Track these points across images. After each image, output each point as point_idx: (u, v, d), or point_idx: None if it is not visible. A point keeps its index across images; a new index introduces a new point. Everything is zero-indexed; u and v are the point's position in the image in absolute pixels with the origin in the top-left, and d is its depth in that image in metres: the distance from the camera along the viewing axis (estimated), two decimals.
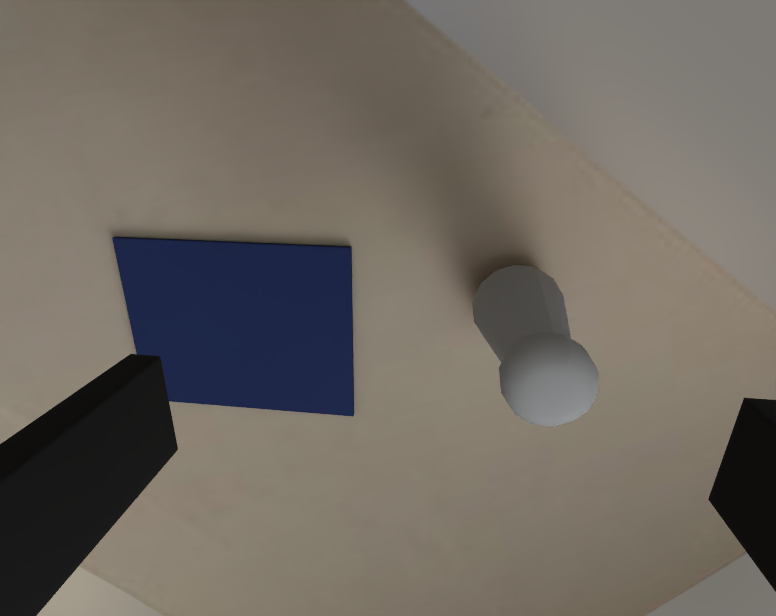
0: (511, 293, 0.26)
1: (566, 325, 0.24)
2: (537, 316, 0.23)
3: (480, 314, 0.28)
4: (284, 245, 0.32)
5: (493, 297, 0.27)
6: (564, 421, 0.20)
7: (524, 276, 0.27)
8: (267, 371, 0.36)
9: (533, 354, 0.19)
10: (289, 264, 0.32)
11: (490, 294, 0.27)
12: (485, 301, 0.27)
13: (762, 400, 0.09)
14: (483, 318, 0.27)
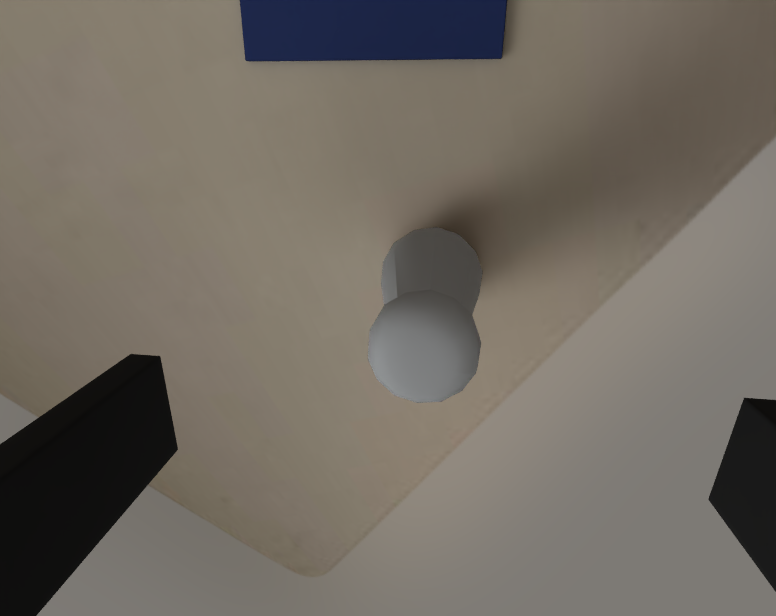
0: (471, 278, 0.22)
1: None
2: None
3: (436, 241, 0.23)
4: None
5: (461, 256, 0.23)
6: (381, 374, 0.17)
7: (478, 285, 0.24)
8: None
9: (470, 334, 0.16)
10: None
11: (460, 251, 0.23)
12: (452, 246, 0.23)
13: (762, 400, 0.09)
14: (436, 247, 0.22)
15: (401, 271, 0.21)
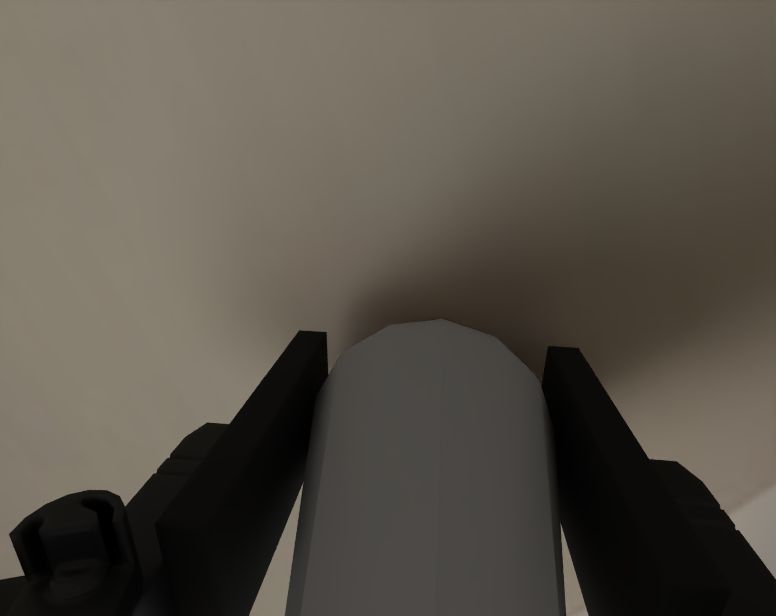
0: (551, 509, 0.07)
1: None
2: None
3: (444, 385, 0.08)
4: None
5: (516, 432, 0.08)
6: None
7: (553, 483, 0.09)
8: None
9: None
10: None
11: (513, 412, 0.08)
12: (490, 398, 0.08)
13: (561, 347, 0.11)
14: (446, 414, 0.07)
15: (331, 527, 0.06)
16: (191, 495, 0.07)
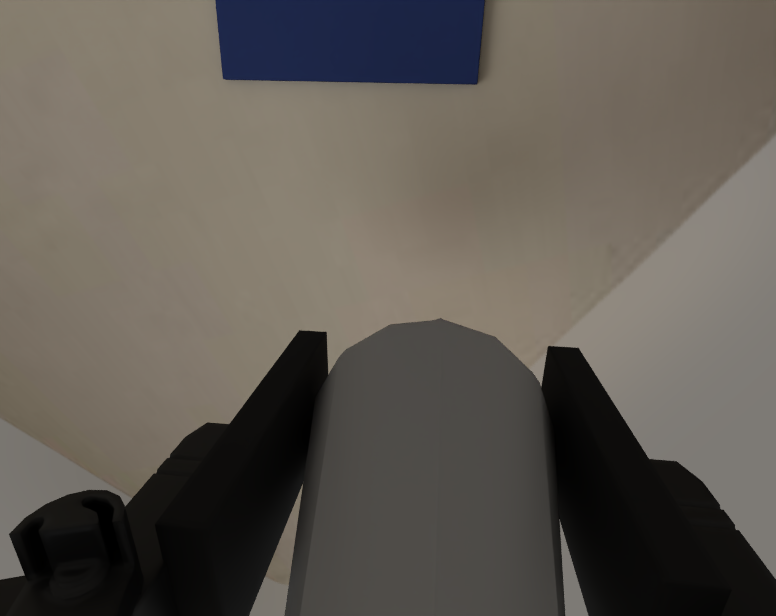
0: (551, 510, 0.07)
1: None
2: None
3: (444, 386, 0.08)
4: None
5: (516, 432, 0.08)
6: None
7: (552, 483, 0.09)
8: None
9: None
10: None
11: (512, 411, 0.08)
12: (490, 398, 0.08)
13: (561, 347, 0.11)
14: (445, 414, 0.07)
15: (330, 527, 0.06)
16: (191, 495, 0.07)
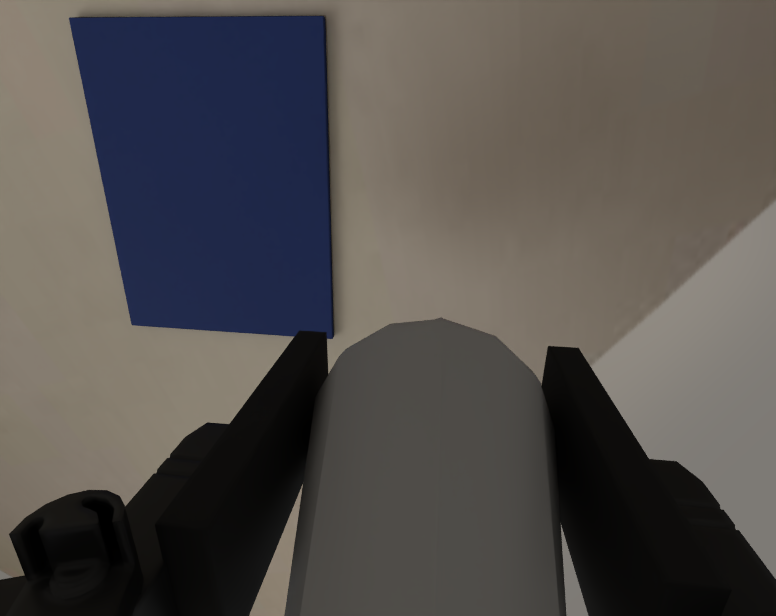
0: (551, 509, 0.07)
1: None
2: None
3: (444, 385, 0.08)
4: (329, 267, 0.27)
5: (516, 431, 0.08)
6: None
7: (553, 483, 0.09)
8: (164, 225, 0.27)
9: None
10: (308, 271, 0.27)
11: (513, 411, 0.08)
12: (490, 397, 0.08)
13: (561, 347, 0.11)
14: (446, 414, 0.07)
15: (330, 527, 0.06)
16: (191, 495, 0.07)
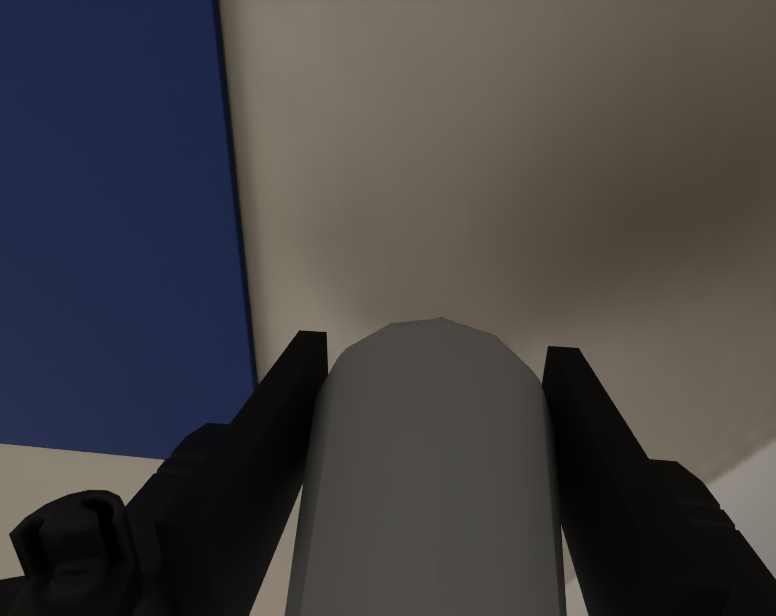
0: (551, 509, 0.07)
1: None
2: None
3: (444, 384, 0.08)
4: (251, 369, 0.17)
5: (516, 431, 0.08)
6: None
7: (553, 482, 0.09)
8: None
9: None
10: (217, 374, 0.18)
11: (513, 411, 0.08)
12: (490, 397, 0.08)
13: (561, 347, 0.11)
14: (446, 413, 0.07)
15: (331, 526, 0.06)
16: (191, 495, 0.07)
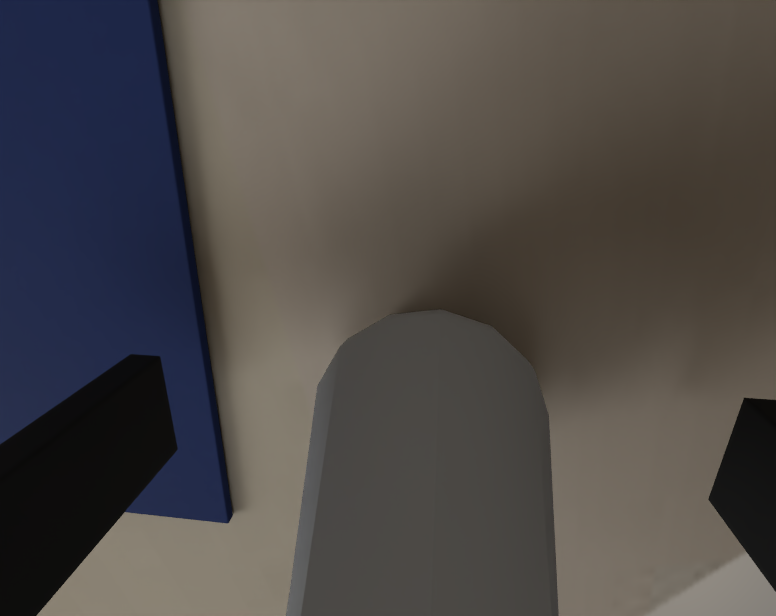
0: (543, 488, 0.08)
1: None
2: None
3: (441, 370, 0.08)
4: (210, 411, 0.15)
5: (510, 415, 0.08)
6: None
7: (546, 465, 0.10)
8: None
9: None
10: None
11: (507, 395, 0.09)
12: (486, 383, 0.09)
13: (762, 400, 0.09)
14: (443, 397, 0.08)
15: (334, 501, 0.07)
16: None
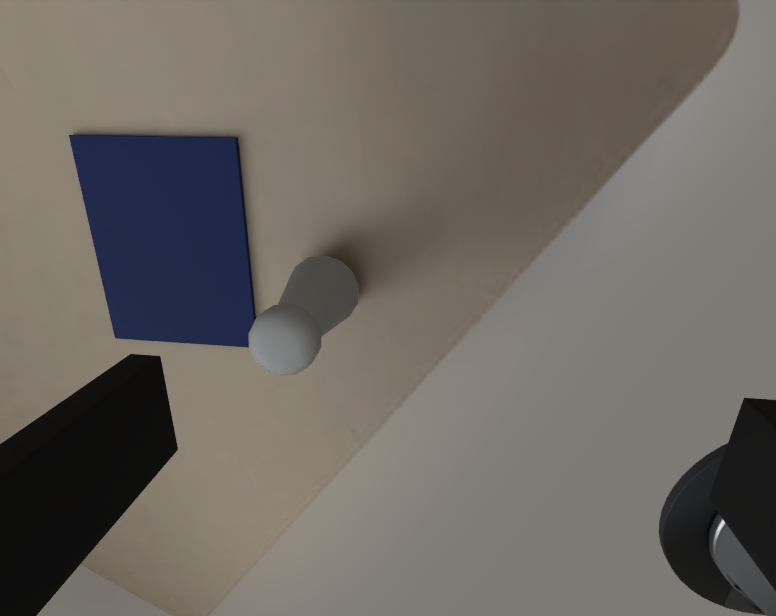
0: (339, 293, 0.32)
1: None
2: (327, 319, 0.30)
3: (317, 267, 0.33)
4: (251, 298, 0.39)
5: (334, 277, 0.33)
6: (256, 356, 0.27)
7: (351, 297, 0.34)
8: (136, 269, 0.39)
9: (307, 332, 0.26)
10: (236, 301, 0.39)
11: (335, 274, 0.33)
12: (329, 270, 0.33)
13: (762, 400, 0.09)
14: (315, 271, 0.32)
15: (287, 289, 0.31)
16: None
